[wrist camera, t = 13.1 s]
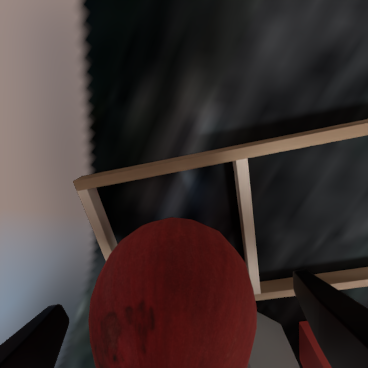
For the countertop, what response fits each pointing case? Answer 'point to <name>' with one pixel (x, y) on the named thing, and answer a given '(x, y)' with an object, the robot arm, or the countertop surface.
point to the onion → (173, 301)
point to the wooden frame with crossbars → (241, 173)
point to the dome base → (284, 347)
